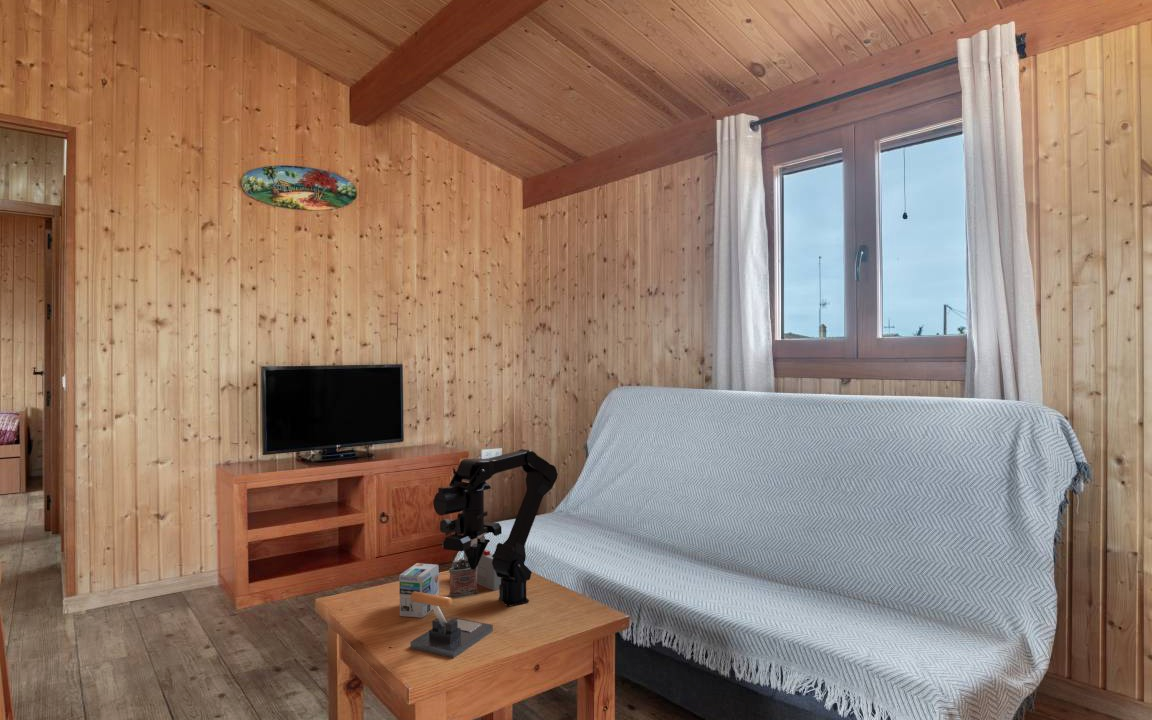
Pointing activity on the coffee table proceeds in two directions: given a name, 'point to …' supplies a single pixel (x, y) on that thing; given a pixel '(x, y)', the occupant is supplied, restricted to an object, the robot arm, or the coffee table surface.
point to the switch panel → (455, 645)
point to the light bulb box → (418, 588)
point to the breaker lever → (433, 603)
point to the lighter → (462, 579)
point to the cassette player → (487, 572)
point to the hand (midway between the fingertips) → (473, 569)
